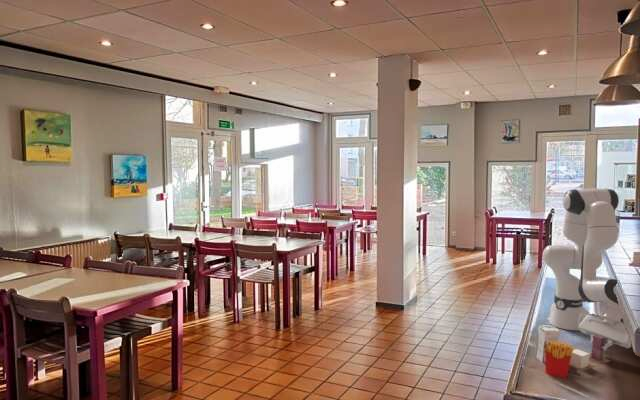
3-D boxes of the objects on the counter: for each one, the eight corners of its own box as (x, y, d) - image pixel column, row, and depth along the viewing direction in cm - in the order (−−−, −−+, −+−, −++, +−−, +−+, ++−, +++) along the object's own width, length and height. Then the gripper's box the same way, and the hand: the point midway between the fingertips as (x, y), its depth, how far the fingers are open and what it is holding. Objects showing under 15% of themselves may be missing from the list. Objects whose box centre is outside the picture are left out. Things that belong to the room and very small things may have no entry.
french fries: (542, 376, 188) (545, 342, 187) (544, 371, 192) (547, 339, 190) (569, 382, 183) (573, 348, 182) (571, 378, 187) (574, 344, 186)
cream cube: (575, 361, 200) (577, 348, 199) (588, 366, 196) (589, 353, 195) (568, 363, 197) (569, 351, 197) (580, 368, 193) (581, 356, 192)
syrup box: (549, 359, 203) (552, 324, 202) (556, 366, 197) (559, 330, 196) (535, 359, 203) (538, 324, 201) (542, 365, 197) (545, 329, 196)
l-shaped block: (591, 355, 208) (593, 332, 207) (610, 363, 202) (613, 339, 200) (556, 367, 196) (558, 342, 194) (575, 375, 189) (578, 350, 188)
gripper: (585, 307, 214) (570, 334, 210) (636, 323, 196) (620, 352, 192) (590, 316, 217) (575, 342, 213) (641, 332, 199) (625, 361, 195)
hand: (597, 347), depth 202 cm, fingers closed on l-shaped block, 3 cm apart
